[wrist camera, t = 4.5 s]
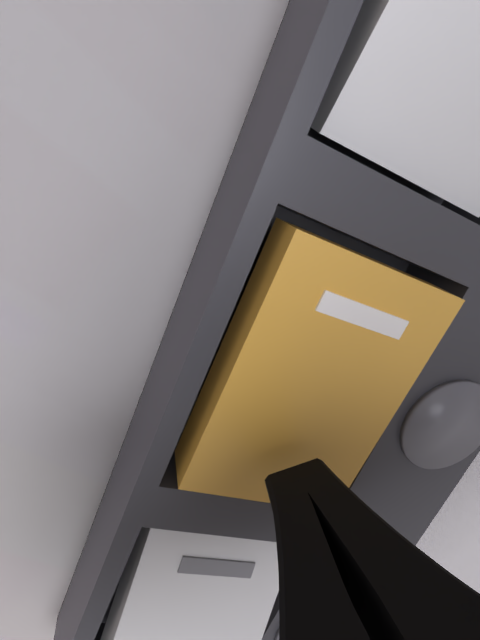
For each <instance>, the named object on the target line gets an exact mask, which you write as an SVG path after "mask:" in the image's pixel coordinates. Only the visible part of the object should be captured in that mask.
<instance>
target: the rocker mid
mask: <svg viewBox="0 0 480 640" xmlns="http://www.w3.org/2000/svg"><path fill="white" fill-rule="evenodd" d="M464 302H465V300H464V299H462V298H459V297H457V296H455V295H453V294H451V293H449V292H447V291H445V290H443V289H441V288H439V287H437V286H435V285H433V284H431V283H429V282H427V281H424V280H422V279H419V278H417V277H415V276H412V275H410V274H408V273H405V272H403V271H401V270H398V269H396V268H394V267H391V266H389V265H387V264H384V263H382V262H380V261H377V260H375V259H373V258H370V257H368V256H366V255H363V254H361V253H359V252H356V251H354V250H352V249H349V248H347V247H345V246H342V245H340V244H337V243H335V242H333V241H330V240H328V239H326V238H323V237H321V236H319V235H316V234H314V233H312V232H309V231H307V230H305V229H302V228H300V227H298V226H295V225H293V224H291V223H288V222H286V221H284V220H281V219H279V218H277V217H276V219H275V222H274V224H273V226H272V228H271V231H270V233H269V235H268V238H267V240H266V242H265V245H264V247H263V249H262V251H261V254H260V256H259V258H258V261H257V263H256V265H255V268H254V270H253V272H252V274H251V277H250V279H249V281H248V284H247V286H246V288H245V291H244V293H243V295H242V297H241V300H240V302H239V304H238V307H237V309H236V311H235V314H234V316H233V318H232V320H231V323H230V325H229V327H228V330H227V332H226V334H225V336H224V339H223V341H222V343H221V346H220V348H219V350H218V353H217V355H216V357H215V359H214V362H213V364H212V366H211V369H210V371H209V373H208V376H207V378H206V380H205V382H204V385H203V387H202V389H201V392H200V394H199V396H198V399H197V401H196V403H195V405H194V408H193V410H192V412H191V415H190V417H189V419H188V422H187V424H186V426H185V428H184V431H183V433H182V435H181V438H180V440H179V442H178V445H177V447H176V449H175V461H176V472H177V483H178V489H179V490H186V491H193V492H199V493H206V494H213V495H220V496H226V497H233V498H240V499H246V500H253V501H260V502H266V503H270V499H269V496H268V492H267V488H266V484H265V479H266V477H267V476H268V475H269V474H272V473H275V472H278V471H281V470H284V469H287V468H290V467H293V466H296V465H299V464H301V463H304V462H307V461H310V460H313V459H316V458H318V459H320V460H322V461H323V462H324V463H325V464H326V465H327V466H328V467H329V468H330V469H331V471H332V472H333V473H334V474H335V475H336V476H337V477H338V478H339V479H340V480H341V481H342V482H343V483H344V484H345V485H346V486H347V487H348V488H349V487H350V485H351V484H352V482H353V480H354V479H355V477H356V476H357V474H358V472H359V471H360V469H361V468H362V466H363V464H364V463H365V461H366V460H367V458H368V456H369V455H370V453H371V451H372V450H373V448H374V447H375V445H376V443H377V442H378V440H379V439H380V437H381V435H382V434H383V432H384V431H385V429H386V427H387V426H388V424H389V422H390V421H391V419H392V418H393V416H394V414H395V413H396V411H397V410H398V408H399V406H400V405H401V403H402V402H403V400H404V398H405V397H406V395H407V393H408V392H409V390H410V389H411V387H412V385H413V384H414V382H415V381H416V379H417V377H418V376H419V374H420V373H421V371H422V369H423V368H424V366H425V364H426V363H427V361H428V360H429V358H430V356H431V355H432V353H433V352H434V350H435V348H436V347H437V345H438V344H439V342H440V340H441V339H442V337H443V335H444V334H445V332H446V331H447V329H448V327H449V326H450V324H451V323H452V321H453V319H454V318H455V316H456V315H457V313H458V311H459V310H460V308H461V306H462V305H463V303H464Z"/></svg>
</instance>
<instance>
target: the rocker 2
mask: <svg viewBox="0 0 480 640" xmlns="http://www.w3.org/2000/svg"><path fill="white" fill-rule="evenodd" d="M311 128H313V129H314V130H316V131H317V132H318V133H320V134H322V135H324V136H326V137H328V138H329V139H331V140H333V141H335V142H337V143H339V144H341V145H343V146H344V147H346V148H348V149H350V150H352V151H354V152H356V153H358V154H360V155H361V156H363V157H365V158H367V159H369V160H371V161H373V162H375V163H377V164H378V165H380V166H382V167H384V168H386V169H388V170H390V171H392V172H393V173H395V174H397V175H399V176H401V177H403V178H405V179H407V180H409V181H410V182H412V183H414V184H416V185H418V186H420V187H422V188H424V189H426V190H427V191H429V192H431V193H433V194H435V195H437V196H439V197H441V198H443V199H444V200H446V201H448V202H450V203H452V204H454V205H456V206H458V207H459V208H461V209H463V210H465V211H467V212H469V213H471V214H473V215H475V216H476V217H478V218H479V217H480V0H364V1H363V4H362V6H361V9H360V11H359V13H358V16H357V18H356V20H355V23H354V25H353V28H352V30H351V32H350V35H349V37H348V39H347V42H346V44H345V47H344V49H343V51H342V54H341V56H340V58H339V61H338V63H337V65H336V68H335V70H334V73H333V75H332V77H331V80H330V82H329V84H328V87H327V89H326V92H325V94H324V96H323V99H322V101H321V103H320V106H319V108H318V110H317V113H316V115H315V118H314V120H313V122H312V125H311Z"/></svg>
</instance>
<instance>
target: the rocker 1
mask: <svg viewBox="0 0 480 640" xmlns="http://www.w3.org/2000/svg"><path fill="white" fill-rule="evenodd" d="M278 591H279V572H278V557H277V544H276V542H270V541H261V540H252V539H243V538H235V537H226V536H217V535H208V534H199V533H190V532H181V531H172V530H163V529H154V528H145V527H142V528H141V530H140V532H139V535H138V537H137V539H136V542H135V544H134V547H133V549H132V551H131V554H130V556H129V558H128V561H127V563H126V565H125V568H124V570H123V573H122V575H121V578H120V581H119V585H118V588H117V591H116V594H115V597H114V600H113V603H112V606H111V609H110V612H109V615H108V618H107V621H106V624H105V627H104V630H103V633H102V636H101V639H100V640H262V637H263V634H264V631H265V629H266V626H267V623H268V620H269V617H270V614H271V611H272V608H273V606H274V603H275V600H276V597H277V594H278Z"/></svg>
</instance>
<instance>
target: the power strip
mask: <svg viewBox="0 0 480 640" xmlns="http://www.w3.org/2000/svg"><path fill="white" fill-rule="evenodd" d="M363 1H364V0H290V1H289V4H288V7H287V9H286V12H285V15H284V17H283V20H282V23H281V25H280V28H279V31H278V33H277V36H276V39H275V41H274V44H273V47H272V49H271V52H270V55H269V57H268V60H267V63H266V65H265V68H264V70H263V73H262V76H261V78H260V81H259V84H258V86H257V89H256V92H255V94H254V97H253V100H252V102H251V105H250V108H249V110H248V113H247V116H246V118H245V121H244V124H243V126H242V129H241V132H240V134H239V137H238V139H237V142H236V145H235V147H234V150H233V153H232V155H231V158H230V161H229V163H228V166H227V169H226V171H225V174H224V177H223V179H222V182H221V185H220V187H219V190H218V193H217V195H216V198H215V201H214V203H213V206H212V208H211V211H210V214H209V216H208V219H207V222H206V224H205V227H204V230H203V232H202V235H201V238H200V240H199V243H198V246H197V248H196V251H195V254H194V256H193V259H192V262H191V264H190V267H189V270H188V272H187V275H186V278H185V280H184V283H183V285H182V288H181V291H180V293H179V296H178V299H177V301H176V304H175V307H174V309H173V312H172V315H171V317H170V320H169V323H168V325H167V328H166V331H165V333H164V336H163V339H162V341H161V344H160V347H159V349H158V352H157V354H156V357H155V360H154V362H153V365H152V368H151V370H150V373H149V376H148V378H147V381H146V384H145V386H144V389H143V392H142V394H141V397H140V400H139V402H138V405H137V408H136V410H135V413H134V416H133V418H132V421H131V424H130V426H129V429H128V431H127V434H126V437H125V439H124V442H123V445H122V447H121V450H120V453H119V455H118V458H117V461H116V463H115V466H114V469H113V471H112V474H111V477H110V479H109V482H108V485H107V487H106V490H105V493H104V495H103V498H102V500H101V503H100V506H99V508H98V511H97V514H96V516H95V519H94V522H93V524H92V527H91V530H90V532H89V535H88V538H87V540H86V543H85V546H84V548H83V551H82V554H81V556H80V559H79V562H78V564H77V567H76V570H75V572H74V575H73V577H72V580H71V583H70V585H69V588H68V591H67V593H66V596H65V599H64V601H63V604H62V607H61V609H60V612H59V615H58V619H57V624H56V630H55V635H54V640H100V639H101V636H102V633H103V630H104V627H105V624H106V621H107V618H108V615H109V612H110V609H111V606H112V603H113V600H114V597H115V594H116V591H117V588H118V585H119V581H120V578H121V575H122V573H123V570H124V568H125V565H126V563H127V561H128V558H129V556H130V554H131V551H132V549H133V547H134V544H135V542H136V539H137V537H138V535H139V532H140V530H141V528H142V527H145V528H154V529H163V530H172V531H181V532H190V533H199V534H208V535H217V536H226V537H235V538H243V539H252V540H261V541H270V542H276V532H275V524H274V516H273V511H272V507H271V503H266V502H260V501H253V500H246V499H240V498H233V497H226V496H220V495H213V494H206V493H199V492H193V491H186V490H179V489H178V483H177V472H176V461H175V449H176V447H177V445H178V442H179V440H180V438H181V435H182V433H183V431H184V428H185V426H186V424H187V422H188V419H189V417H190V415H191V412H192V410H193V408H194V405H195V403H196V401H197V399H198V396H199V394H200V392H201V389H202V387H203V385H204V382H205V380H206V378H207V376H208V373H209V371H210V369H211V366H212V364H213V362H214V359H215V357H216V355H217V353H218V350H219V348H220V346H221V343H222V341H223V339H224V336H225V334H226V332H227V330H228V327H229V325H230V323H231V320H232V318H233V316H234V314H235V311H236V309H237V307H238V304H239V302H240V300H241V297H242V295H243V293H244V291H245V288H246V286H247V284H248V281H249V279H250V277H251V274H252V272H253V270H254V268H255V265H256V263H257V261H258V258H259V256H260V254H261V251H262V249H263V247H264V245H265V242H266V240H267V238H268V235H269V233H270V231H271V228H272V226H273V224H274V222H275V219H276V217H277V218H279V219H281V220H284V221H286V222H288V223H291V224H293V225H295V226H298V227H300V228H302V229H305V230H307V231H309V232H312V233H314V234H316V235H319V236H321V237H323V238H326V239H328V240H330V241H333V242H335V243H337V244H340V245H342V246H345V247H347V248H349V249H352V250H354V251H356V252H359V253H361V254H363V255H366V256H368V257H370V258H373V259H375V260H377V261H380V262H382V263H384V264H387V265H389V266H391V267H394V268H396V269H398V270H401V271H403V272H405V273H408V274H410V275H412V276H415V277H417V278H419V279H422V280H424V281H427V282H429V283H431V284H433V285H435V286H437V287H439V288H441V289H443V290H445V291H447V292H449V293H451V294H453V295H455V296H457V297H459V298H462V299H464V300H465V302H464V303H463V305H462V306H461V308H460V310H459V311H458V313H457V315H456V316H455V318H454V319H453V321H452V323H451V324H450V326H449V327H448V329H447V331H446V332H445V334H444V335H443V337H442V339H441V340H440V342H439V344H438V345H437V347H436V348H435V350H434V352H433V353H432V355H431V356H430V358H429V360H428V361H427V363H426V364H425V366H424V368H423V369H422V371H421V373H420V374H419V376H418V377H417V379H416V381H415V382H414V384H413V385H412V387H411V389H410V390H409V392H408V393H407V395H406V397H405V398H404V400H403V402H402V403H401V405H400V406H399V408H398V410H397V411H396V413H395V414H394V416H393V418H392V419H391V421H390V422H389V424H388V426H387V427H386V429H385V431H384V432H383V434H382V435H381V437H380V439H379V440H378V442H377V443H376V445H375V447H374V448H373V450H372V451H371V453H370V455H369V456H368V458H367V460H366V461H365V463H364V464H363V466H362V468H361V469H360V471H359V472H358V474H357V476H356V477H355V479H354V480H353V482H352V484H351V485H350V487H349V489H350V490H351V491H353V492H354V493H355V494H356V495H357V496H358V497H359V498H360V499H361V500H362V501H363V502H364V503H365V504H366V505H368V506H369V507H370V508H371V509H372V510H373V511H374V512H375V513H377V514H378V515H379V516H380V517H381V518H382V519H384V520H385V521H386V522H387V523H388V524H389V525H391V526H392V527H393V528H394V529H395V530H396V531H398V532H399V533H400V534H401V535H402V536H404V537H405V538H406V539H407V540H408V541H410V542H411V543H412V544H413V545H416V544H417V542H418V541H419V539H420V538H421V536H422V535H423V533H424V532H425V530H426V529H427V528H428V526H429V525H430V523H431V522H432V520H433V519H434V517H435V516H436V514H437V513H438V511H439V510H440V508H441V507H442V505H443V504H444V503H445V501H446V500H447V498H448V497H449V495H450V494H451V492H452V491H453V489H454V488H455V486H456V485H457V483H458V482H459V480H460V479H461V478H462V476H463V475H464V473H465V472H466V470H467V469H468V467H469V466H470V464H471V463H472V461H473V460H474V458H475V457H476V455H477V454H478V452H479V451H480V217H479V218H478V217H476V216H475V215H473V214H471V213H469V212H467V211H465V210H463V209H461V208H459V207H458V206H456V205H454V204H452V203H450V202H448V201H446V200H444V199H443V198H441V197H439V196H437V195H435V194H433V193H431V192H429V191H427V190H426V189H424V188H422V187H420V186H418V185H416V184H414V183H412V182H410V181H409V180H407V179H405V178H403V177H401V176H399V175H397V174H395V173H393V172H392V171H390V170H388V169H386V168H384V167H382V166H380V165H378V164H377V163H375V162H373V161H371V160H369V159H367V158H365V157H363V156H361V155H360V154H358V153H356V152H354V151H352V150H350V149H348V148H346V147H344V146H343V145H341V144H339V143H337V142H335V141H333V140H331V139H329V138H328V137H326V136H324V135H322V134H320V133H318V132H317V131H316V130H314V129H313V128H311V125H312V122H313V120H314V118H315V115H316V113H317V110H318V108H319V106H320V103H321V101H322V99H323V96H324V94H325V92H326V89H327V87H328V84H329V82H330V80H331V77H332V75H333V73H334V70H335V68H336V65H337V63H338V61H339V58H340V56H341V54H342V51H343V49H344V47H345V44H346V42H347V39H348V37H349V35H350V32H351V30H352V28H353V25H354V23H355V20H356V18H357V16H358V13H359V11H360V9H361V6H362V4H363ZM262 640H279V591H278V594H277V597H276V600H275V603H274V606H273V608H272V611H271V614H270V617H269V620H268V623H267V626H266V629H265V631H264V634H263V637H262Z"/></svg>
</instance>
